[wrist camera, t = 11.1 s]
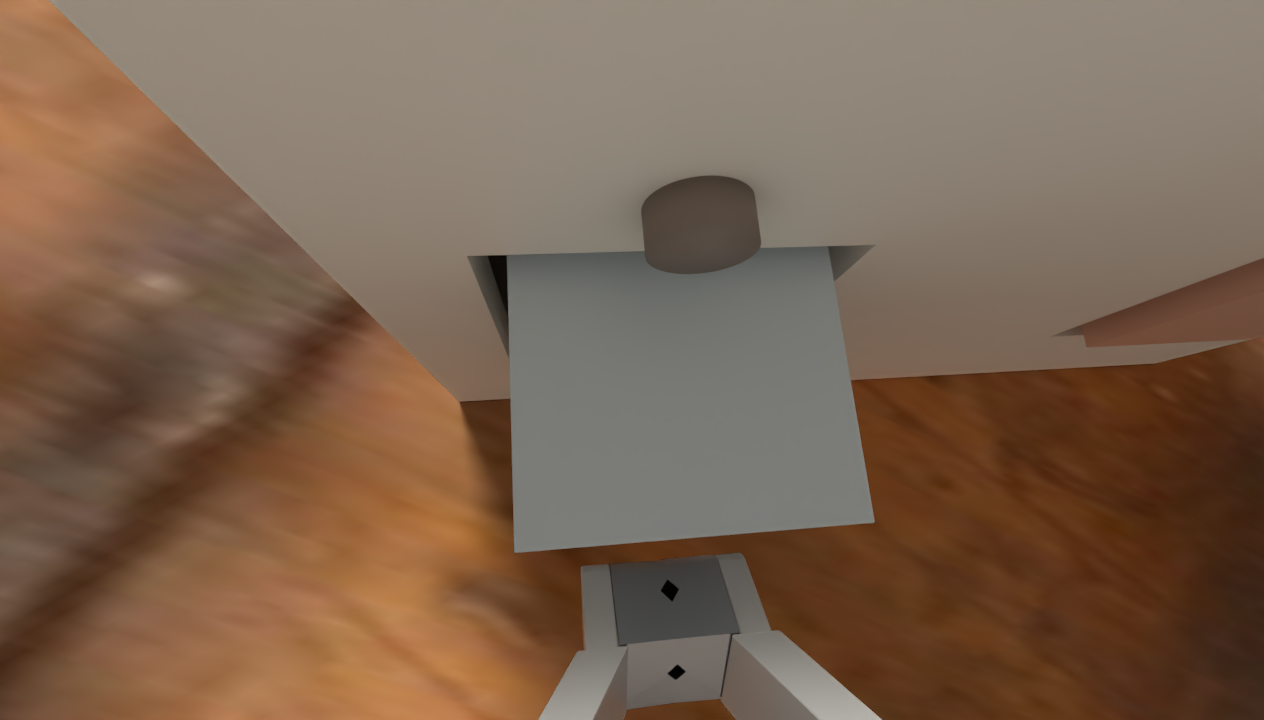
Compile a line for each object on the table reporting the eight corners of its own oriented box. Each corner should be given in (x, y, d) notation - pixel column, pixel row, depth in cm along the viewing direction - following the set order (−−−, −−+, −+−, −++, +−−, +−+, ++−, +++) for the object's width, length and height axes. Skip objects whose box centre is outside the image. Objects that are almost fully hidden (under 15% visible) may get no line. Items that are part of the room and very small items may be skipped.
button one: (536, 537, 13) (513, 553, 8) (525, 199, 14) (501, 42, 10) (763, 518, 13) (874, 522, 8) (723, 195, 15) (794, 46, 10)
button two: (1086, 347, 15) (1331, 269, 10) (1013, 80, 17) (1189, -92, 12) (1257, 338, 16) (1565, 261, 11) (1168, 81, 17) (1394, -83, 13)
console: (459, 421, 18) (-19, 37, 3) (458, 144, 20) (171, -781, 6) (1160, 379, 21) (2540, 70, 6) (1088, 140, 23) (1967, -492, 8)
